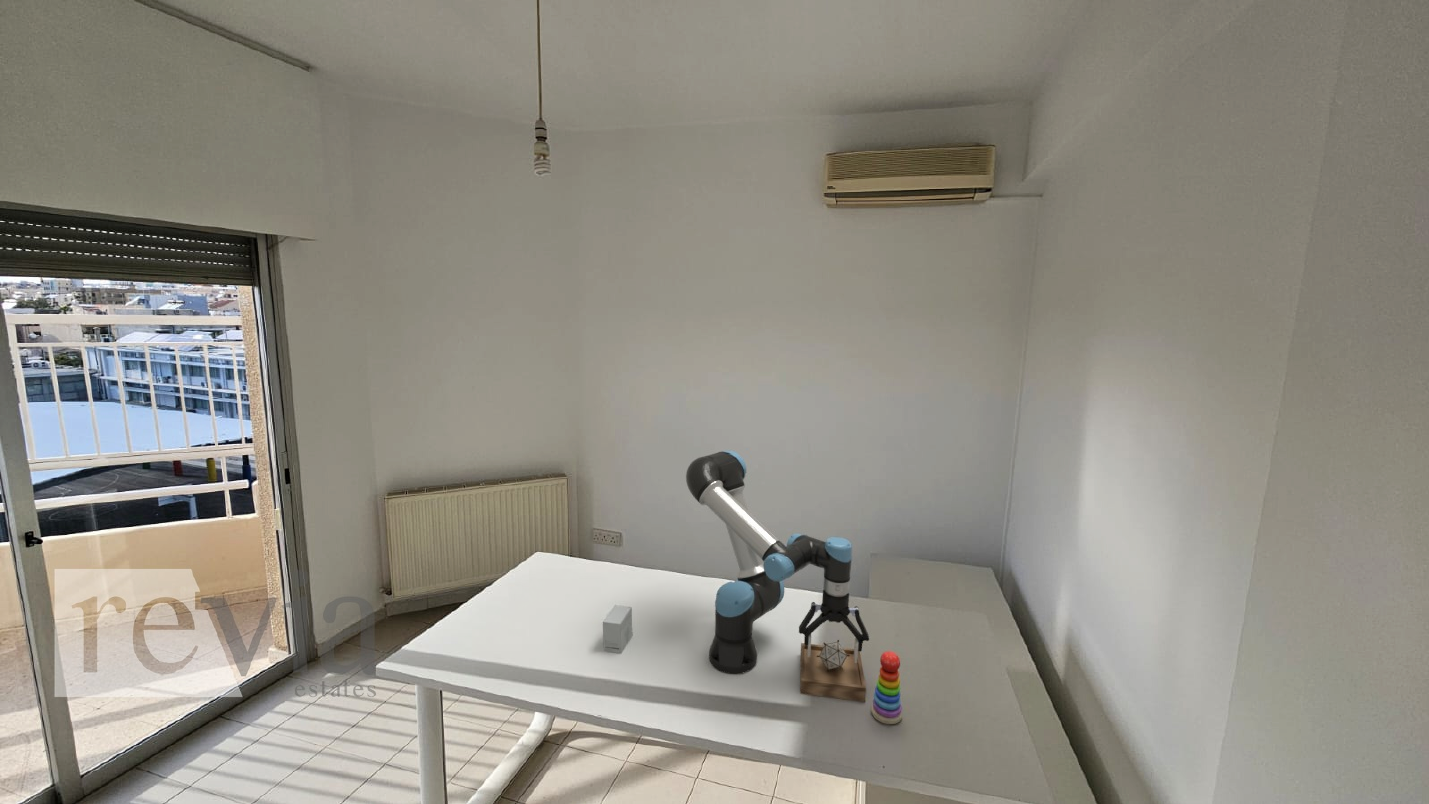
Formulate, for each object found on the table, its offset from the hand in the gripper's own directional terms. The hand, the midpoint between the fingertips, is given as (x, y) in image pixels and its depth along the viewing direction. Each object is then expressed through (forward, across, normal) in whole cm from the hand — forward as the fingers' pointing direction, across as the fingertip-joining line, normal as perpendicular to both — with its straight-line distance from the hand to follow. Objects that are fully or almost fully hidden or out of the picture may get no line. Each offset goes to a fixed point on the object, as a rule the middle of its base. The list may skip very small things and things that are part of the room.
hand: (831, 657), depth 161 cm
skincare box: (+7, -68, +4) cm, 68 cm away
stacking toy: (+7, +14, -13) cm, 20 cm away
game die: (+4, 0, 0) cm, 4 cm away
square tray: (+6, 0, 0) cm, 6 cm away
